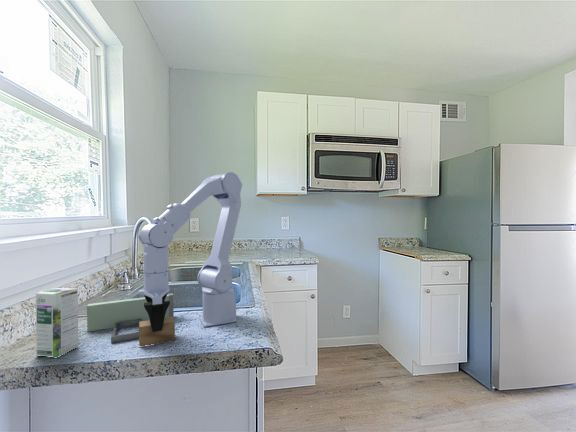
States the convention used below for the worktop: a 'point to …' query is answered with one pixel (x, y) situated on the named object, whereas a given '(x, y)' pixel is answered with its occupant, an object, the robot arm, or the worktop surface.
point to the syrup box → (56, 321)
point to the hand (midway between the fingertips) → (156, 325)
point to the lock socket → (125, 337)
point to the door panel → (120, 312)
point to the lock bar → (159, 336)
